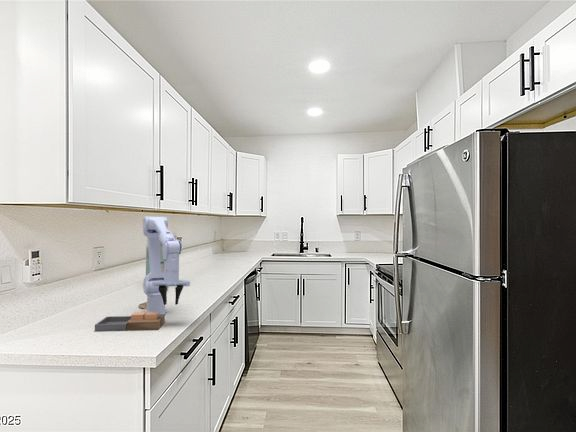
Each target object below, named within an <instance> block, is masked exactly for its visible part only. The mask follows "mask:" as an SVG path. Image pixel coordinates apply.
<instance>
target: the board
mask: <svg viewBox="0 0 576 432" xmlns="http://www.w3.org/2000/svg"><path fill="white" fill-rule="evenodd" d="M165 316H166V313H165V314H159V317H158V318H157V319H156V320H145V319H144V320H129V321H128V322H127V330H126V331H127V332H128V331H158V330H159V329H160V328H162V326H163V325H164V323H165V321H166V318H165Z"/></svg>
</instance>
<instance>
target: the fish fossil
mask: <svg viewBox="0 0 576 432" xmlns="http://www.w3.org/2000/svg"><path fill="white" fill-rule="evenodd" d="M138 308H139V309H141V308H142V309H145V310H147V301H144V302H142V303H139V304H138Z"/></svg>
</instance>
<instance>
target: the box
mask: <svg viewBox="0 0 576 432" xmlns="http://www.w3.org/2000/svg"><path fill="white" fill-rule="evenodd" d="M129 320H131V315H124V316H123V315H122V316H120V315H119V316H117V315H115V316H105V317H104V318H103V319H100V321H98V322H97V323H95V324H94V332H126V331H127V322H128V321H129Z"/></svg>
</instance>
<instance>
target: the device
mask: <svg viewBox="0 0 576 432" xmlns="http://www.w3.org/2000/svg"><path fill="white" fill-rule="evenodd" d="M145 246H146V247H145V277H146V276H147V275H148V274H149V273H150V265H149V248H148V239H147V241H146V245H145ZM159 248H160V263H161V272H162V273H164V259H163V251H162V244H161V242H160V240H159ZM152 280H159V279H152Z"/></svg>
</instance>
